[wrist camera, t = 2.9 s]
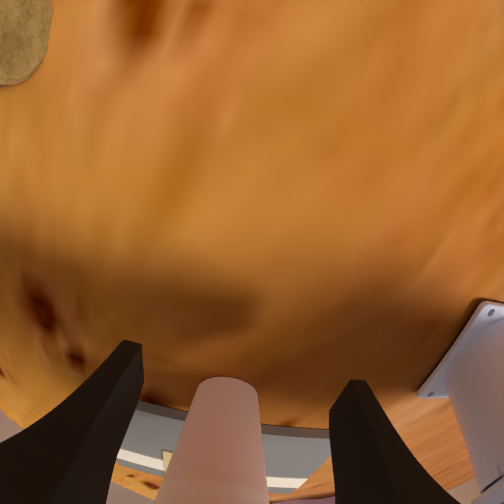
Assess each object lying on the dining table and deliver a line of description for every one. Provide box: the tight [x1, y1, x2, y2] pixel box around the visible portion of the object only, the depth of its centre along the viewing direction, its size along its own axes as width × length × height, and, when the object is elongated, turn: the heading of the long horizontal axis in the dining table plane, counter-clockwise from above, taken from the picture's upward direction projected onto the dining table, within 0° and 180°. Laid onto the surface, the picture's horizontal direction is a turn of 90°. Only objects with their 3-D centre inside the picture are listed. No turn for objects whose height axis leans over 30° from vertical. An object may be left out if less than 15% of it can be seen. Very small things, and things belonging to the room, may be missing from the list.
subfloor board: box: [117, 400, 331, 494], centre depth 22 cm, size 18×14×1 cm
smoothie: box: [154, 377, 269, 504], centre depth 12 cm, size 6×6×14 cm
